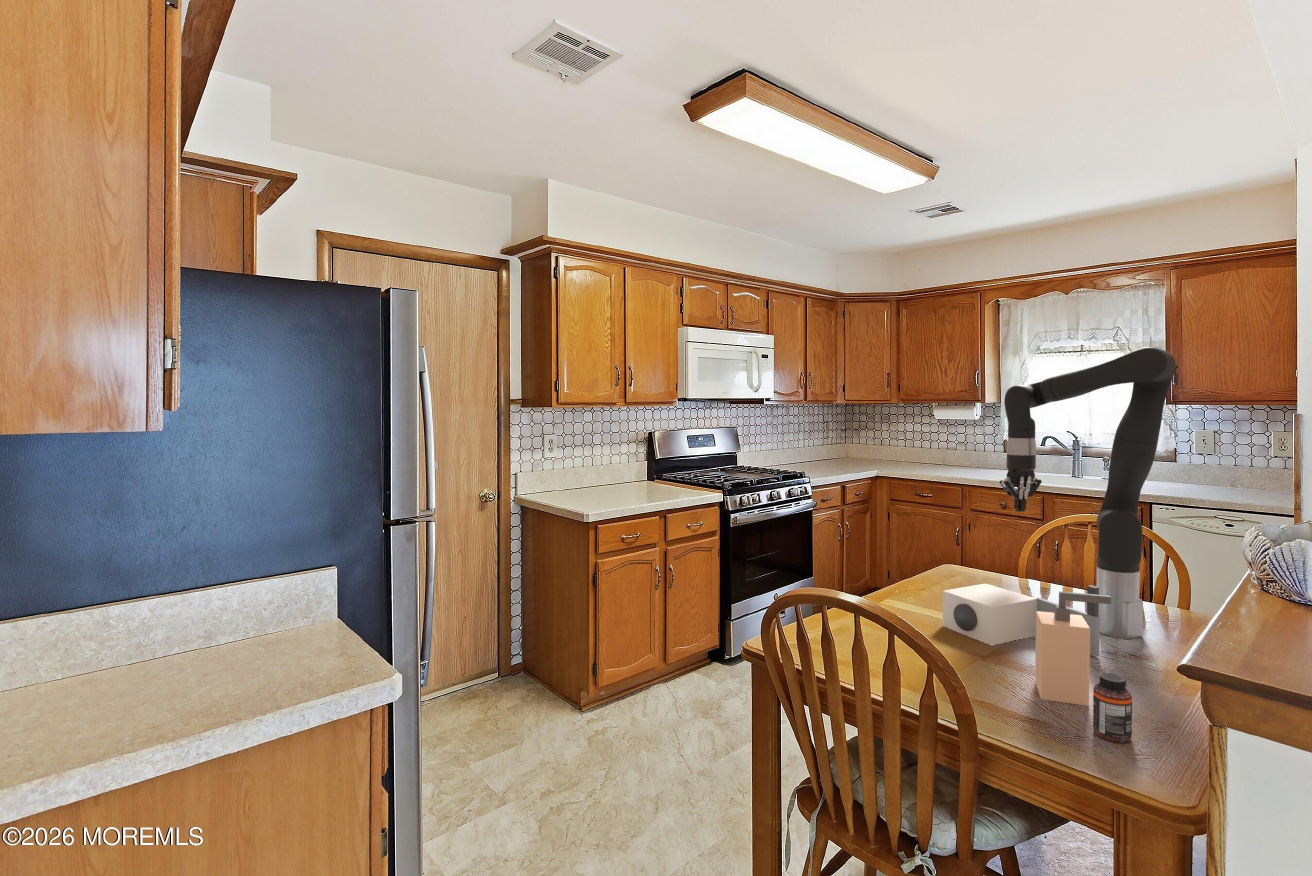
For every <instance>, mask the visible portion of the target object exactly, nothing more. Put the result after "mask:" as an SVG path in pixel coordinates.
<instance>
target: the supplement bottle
mask: <svg viewBox="0 0 1312 876" xmlns="http://www.w3.org/2000/svg"><path fill="white" fill-rule="evenodd" d="M1092 693H1093V695H1092V697H1093V699H1092V700H1093V701H1092V702H1093V703H1092V707H1093V708H1092V729H1093V732H1094V734H1095V735H1097V736H1099V737H1100V738H1101V739H1103V740H1105V741H1109V742H1113V743H1119V744H1121V743H1127V742H1130V741H1131V740H1132V734H1133V694H1132V692H1131V690H1129V689H1128V688H1127V680H1126V678H1125V676H1123V675H1120V674H1117V673H1113V672H1101V673H1100V674H1099V682H1098V683H1096V684H1095V685H1094V686H1093V689H1092Z"/></svg>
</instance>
